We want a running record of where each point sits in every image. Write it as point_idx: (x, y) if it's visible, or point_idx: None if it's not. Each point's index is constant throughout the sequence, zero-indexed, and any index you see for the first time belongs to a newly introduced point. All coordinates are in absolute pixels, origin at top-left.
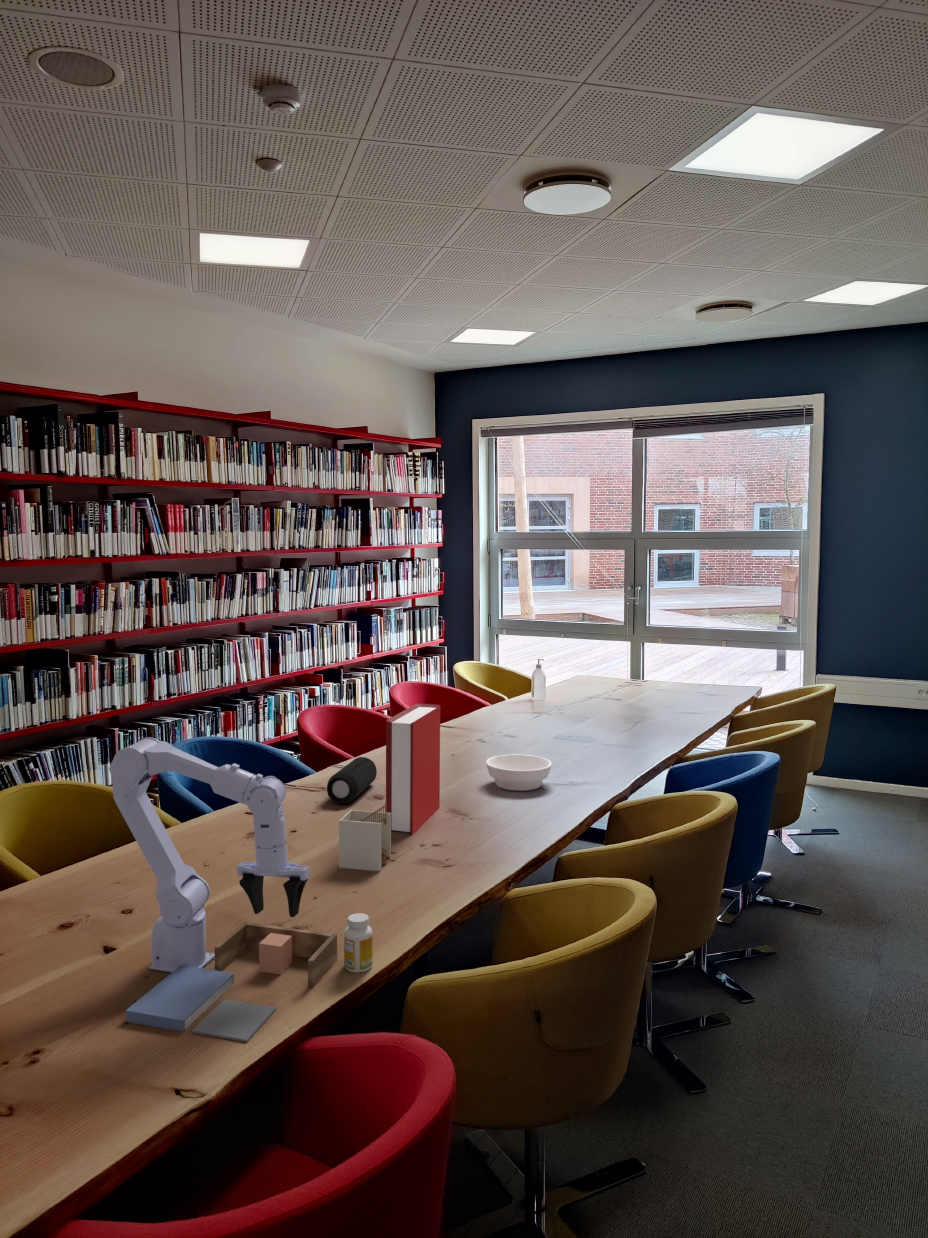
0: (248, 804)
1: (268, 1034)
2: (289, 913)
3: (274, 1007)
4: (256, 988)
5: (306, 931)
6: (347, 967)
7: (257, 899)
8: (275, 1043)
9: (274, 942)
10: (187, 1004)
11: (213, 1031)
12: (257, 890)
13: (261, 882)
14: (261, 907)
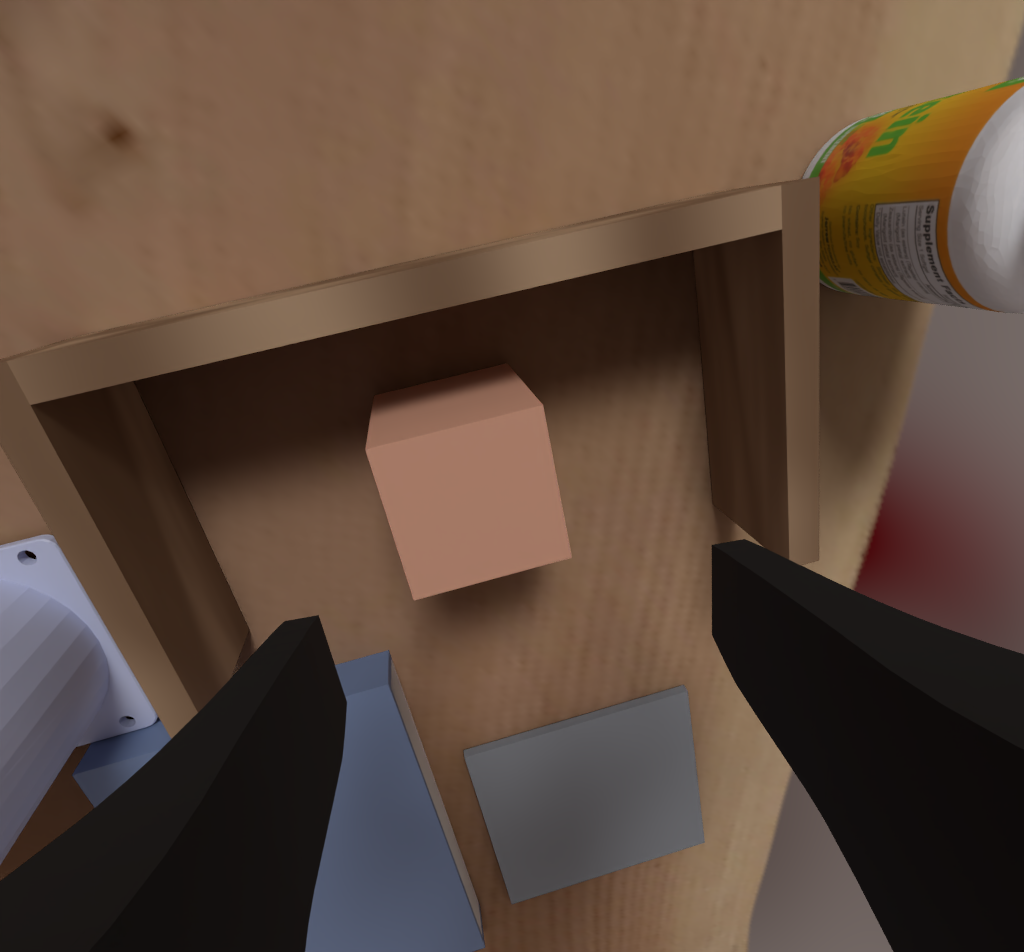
0: None
1: (737, 779)
2: (734, 673)
3: (681, 694)
4: (509, 624)
5: (577, 256)
6: (842, 291)
7: (300, 811)
8: (781, 793)
9: (496, 540)
10: (414, 904)
11: (579, 874)
12: (256, 920)
13: (173, 927)
14: (320, 669)
